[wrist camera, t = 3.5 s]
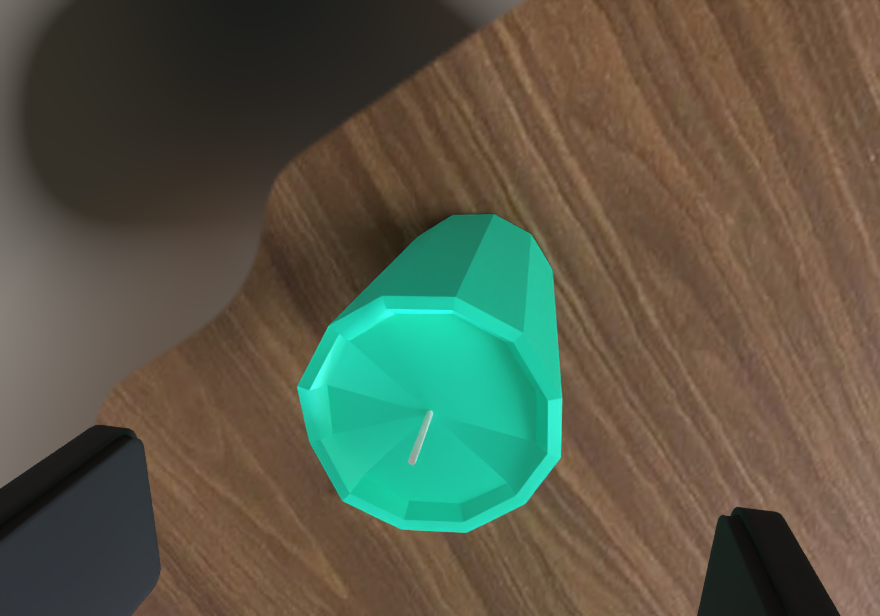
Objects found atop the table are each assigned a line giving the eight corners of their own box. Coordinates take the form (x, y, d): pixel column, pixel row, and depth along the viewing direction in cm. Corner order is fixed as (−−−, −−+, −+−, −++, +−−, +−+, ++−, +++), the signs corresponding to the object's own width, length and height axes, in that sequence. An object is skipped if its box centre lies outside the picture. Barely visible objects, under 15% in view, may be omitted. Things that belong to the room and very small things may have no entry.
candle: (531, 191, 21) (520, 278, 10) (572, 342, 23) (603, 565, 12) (378, 236, 23) (219, 357, 12) (426, 376, 24) (327, 604, 13)
